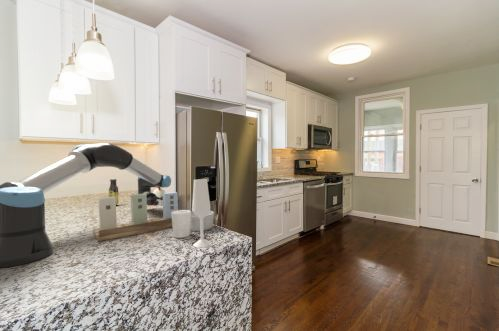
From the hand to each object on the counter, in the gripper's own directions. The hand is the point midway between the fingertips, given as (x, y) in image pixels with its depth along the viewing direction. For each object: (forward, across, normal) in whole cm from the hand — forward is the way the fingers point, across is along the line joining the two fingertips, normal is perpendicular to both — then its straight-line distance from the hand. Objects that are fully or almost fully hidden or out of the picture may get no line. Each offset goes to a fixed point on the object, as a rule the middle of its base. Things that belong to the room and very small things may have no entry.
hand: (161, 203), depth 128 cm
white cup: (+34, +3, -9) cm, 35 cm away
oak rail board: (+10, +13, -9) cm, 19 cm away
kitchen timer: (-54, -16, -10) cm, 58 cm away
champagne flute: (+49, +2, -9) cm, 50 cm away
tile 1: (+8, +26, -7) cm, 28 cm away
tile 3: (+13, 0, -7) cm, 15 cm away
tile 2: (+8, +13, -7) cm, 17 cm away
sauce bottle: (-69, +12, -9) cm, 71 cm away
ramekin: (+28, -8, -9) cm, 31 cm away
